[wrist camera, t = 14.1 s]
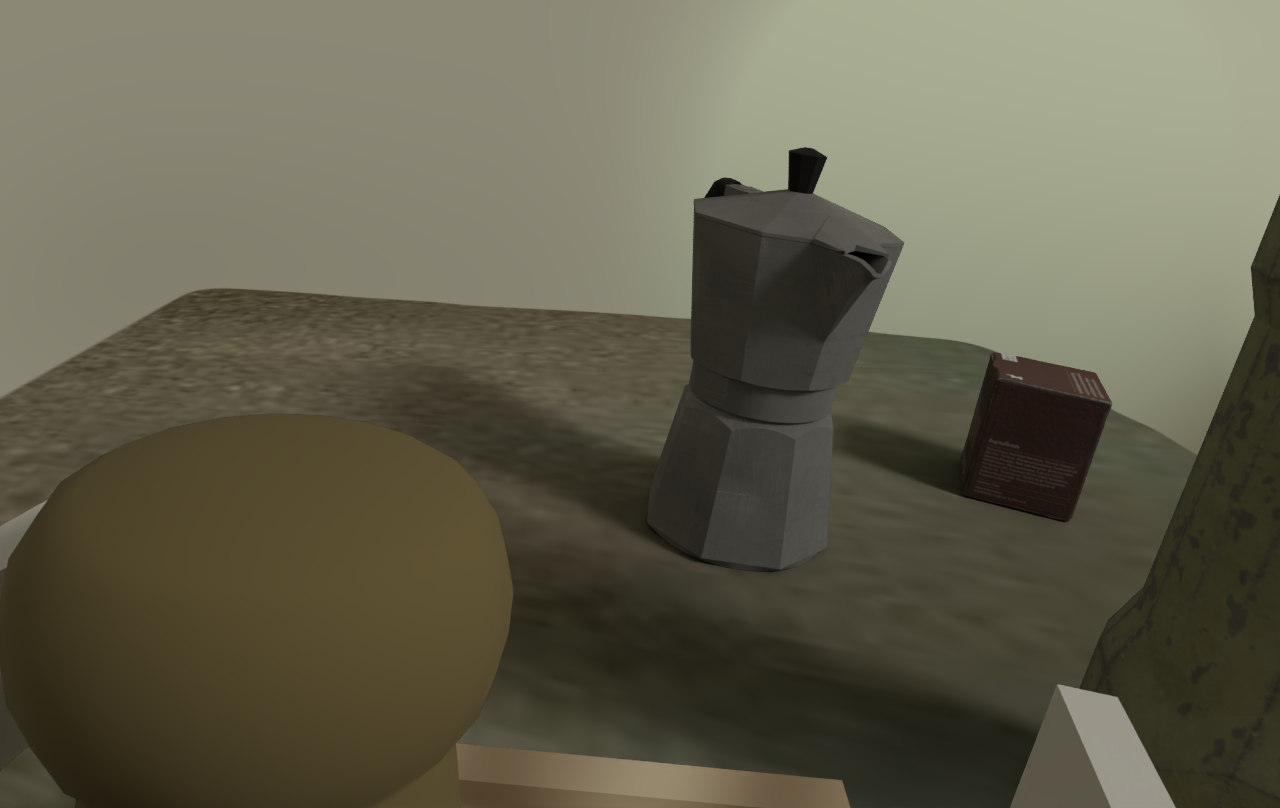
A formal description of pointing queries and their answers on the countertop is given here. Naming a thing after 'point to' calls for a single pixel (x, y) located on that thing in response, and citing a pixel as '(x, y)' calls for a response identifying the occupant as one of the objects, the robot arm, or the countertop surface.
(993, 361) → the box
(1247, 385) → the thermos
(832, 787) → the oak stand
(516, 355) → the countertop surface
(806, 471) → the coffeepot
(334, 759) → the cork
